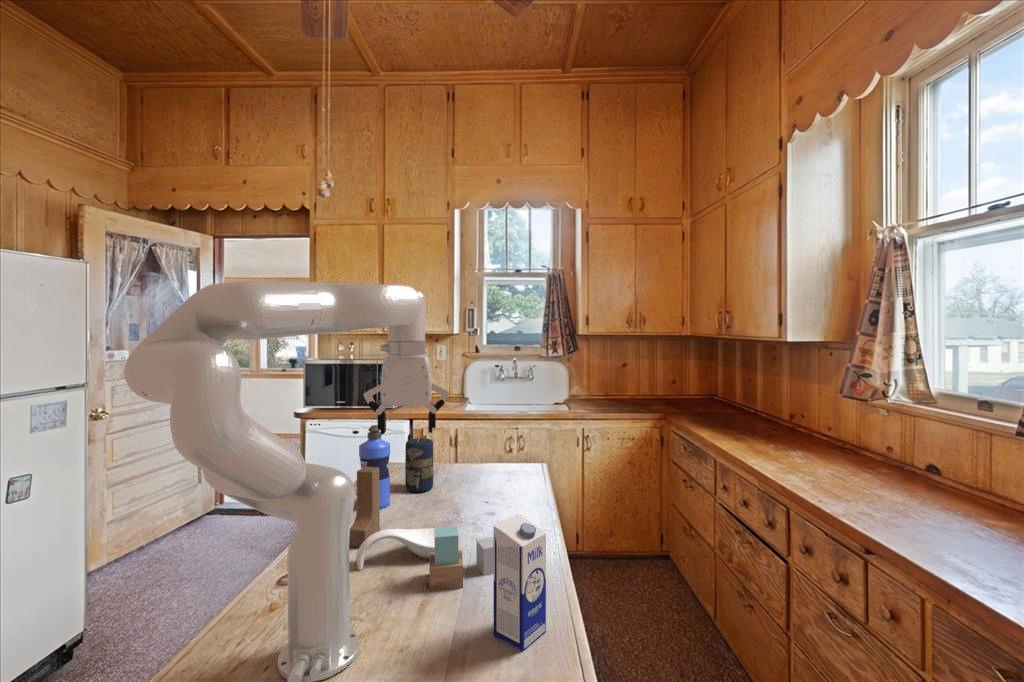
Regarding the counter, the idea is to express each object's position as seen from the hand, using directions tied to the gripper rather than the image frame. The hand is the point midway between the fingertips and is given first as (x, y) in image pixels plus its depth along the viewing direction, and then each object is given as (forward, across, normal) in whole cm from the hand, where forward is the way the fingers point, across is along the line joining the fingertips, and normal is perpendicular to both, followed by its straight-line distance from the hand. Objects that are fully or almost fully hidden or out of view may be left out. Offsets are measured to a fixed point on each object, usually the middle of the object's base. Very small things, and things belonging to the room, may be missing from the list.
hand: (407, 432), depth 97 cm
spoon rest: (+34, -1, +15) cm, 37 cm away
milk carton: (+34, +21, -17) cm, 43 cm away
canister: (+34, -1, +64) cm, 72 cm away
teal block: (+28, +8, +3) cm, 30 cm away
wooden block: (+34, -13, +26) cm, 44 cm away
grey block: (+33, +18, +7) cm, 39 cm away
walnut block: (+34, +8, +3) cm, 35 cm away
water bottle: (+34, -14, +51) cm, 63 cm away
